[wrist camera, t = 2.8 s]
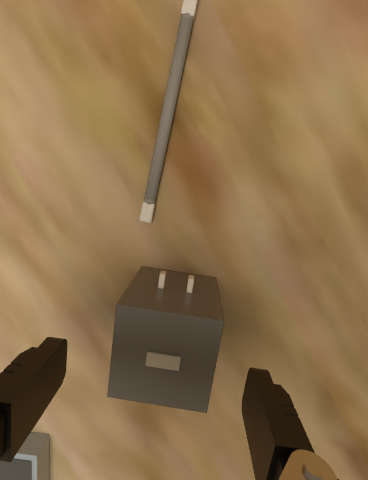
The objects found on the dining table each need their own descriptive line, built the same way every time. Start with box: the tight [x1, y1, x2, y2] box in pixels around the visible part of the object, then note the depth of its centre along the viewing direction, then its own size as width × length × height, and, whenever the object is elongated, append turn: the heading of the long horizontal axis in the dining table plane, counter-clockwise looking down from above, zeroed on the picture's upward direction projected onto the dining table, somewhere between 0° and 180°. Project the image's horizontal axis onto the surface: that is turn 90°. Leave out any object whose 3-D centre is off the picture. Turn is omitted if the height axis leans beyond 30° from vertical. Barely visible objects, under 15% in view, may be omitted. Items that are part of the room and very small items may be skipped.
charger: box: [107, 266, 224, 413], centre depth 16 cm, size 5×6×6 cm
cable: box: [140, 0, 198, 223], centre depth 16 cm, size 13×1×1 cm, turn 167°
